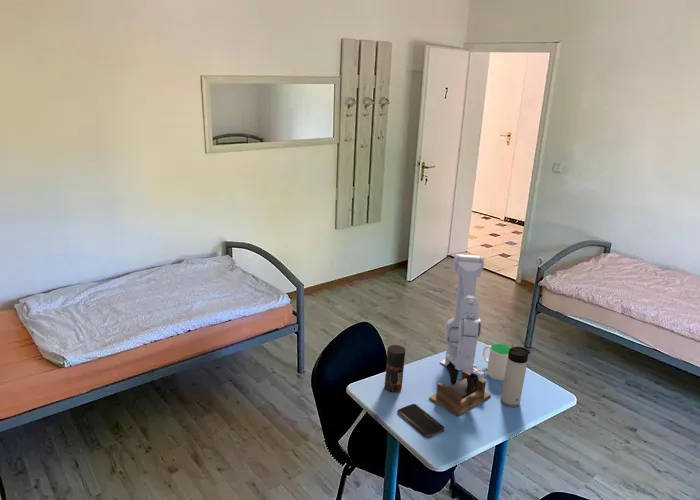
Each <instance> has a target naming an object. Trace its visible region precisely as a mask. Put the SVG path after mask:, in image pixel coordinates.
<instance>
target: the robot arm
mask: <svg viewBox="0 0 700 500" xmlns="http://www.w3.org/2000/svg"><path fill="white" fill-rule="evenodd" d="M484 259H485V258H484V257H483V255H480V254H479V255H475V254H465V253H464V254H463V253H462V254H461V253H456V254H455V255H454V257H453V267H452V272H453V274H455V275H457V278H458V281H457V289H456V297H455V298H456V299H455V308H454V316H453V317H451V318H449V319H448V320H446V322H445V327H444V332H443V333H444V334H443V336H444V337H443V338H444V342H445V343H447V344H446V351H445V358H444V359H443V360H440V361H439V363H440V364H442V365H443V366H445V367H446V369H447V371H448V374H449V379H450V385H451V384H452V385H453V384H455V383H456V382H457V381H458V376H459V371H460V372H461V371H466V372H469V373H471V375H468V376H467V377H466V378H467V393H468V394H469V393H471V392H472V391H473V388H474V386H475V384H476V383H477V381H478V380H479V379H484V377H485V372H484V371H483V370H481V369H480V368H479V367H478V366H477V365H476V364H475V359H476V358H475V357H476V350H477V343H478V338H479V337H480V336H481V332H482V322H481V317H480V312H479V311H480V308H479V306H480V305H479V300H478V299H477V297H476V287H477V279H478V277H480V276H481V274H482V273H483V271H484V267H485V260H484Z"/></svg>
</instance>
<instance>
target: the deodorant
mask: <svg viewBox="0 0 700 500" xmlns="http://www.w3.org/2000/svg"><path fill="white" fill-rule="evenodd" d="M386 352H387V353H386V354H387V355H386V366H385V376H384V389H385V391H387V392H389V393H392V394H394V393H395V394H396V393H400V392H401V391H402V389H403V388H402V386H403V378H404V367H405V358H406V348H405V347H403V346H402V345H398V344H392V345H389V346H388V347H387V351H386Z"/></svg>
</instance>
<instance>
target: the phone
mask: <svg viewBox="0 0 700 500" xmlns="http://www.w3.org/2000/svg"><path fill="white" fill-rule="evenodd" d="M396 413H397V415H399V416H400V418H402V419H403V420H404V421H406V422H407V423H408V424H409V425H410V426H412V427H413V429H415V430H416V431H417V432H418V433H420V435H422V436H423V437H424V438H431V437H434V436H436V435H438V434H440V433H443V432H444V431H445V426H444V425H443V424H441V423H440V422H439V421H438V420H436V419H435V418H434V417H432V416H431V415H429V413H428V412H427V411H426V410H424V409H423V408H421V407H420V406H419V405H418V404H416V403H412V404H408V405H406V406H403V407H401V408H398V409H397V412H396Z"/></svg>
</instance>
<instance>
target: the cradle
mask: <svg viewBox="0 0 700 500" xmlns="http://www.w3.org/2000/svg"><path fill="white" fill-rule="evenodd" d="M468 375H471V373H469V372H466V371H463V370H461V378H460V379H458V380H457V382H456V383H458V382H460V381H462V380H463V379H465V378H466V377H467V376H468ZM456 383H455V384H456ZM486 384H487V381H486V380H485V379H484V378H482V379H479V380H478V381H477V383H476V384H475V390H474V391H473V392H472V393H470V394H468V395H466V396H465V397H463V398H462V394H460V393H458V392H457V391H455V390H453V389H451V388H450V386H452V384H451V383H450V384H449V385H446V384H445V383H442V382H438V383H437V387H436V393H434V394H432V395H430V396H429V397H428V399H429V401H432V402H433V403H435V404H436V405H438V406H440V407H441V408H443V409H444V410H446V411H448V412H449V413H451V414H453V415H454V416H456V417H459V416H461V415H462V414H464V413H466V412H468V411H469V410H471V409H473V408H474V407H476V406H478V405H480V404H481V403H482V402H484V401H487V400H488V399H489V398H491V394H490V393H489V392H486V386H487V385H486ZM453 385H454V384H453Z"/></svg>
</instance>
